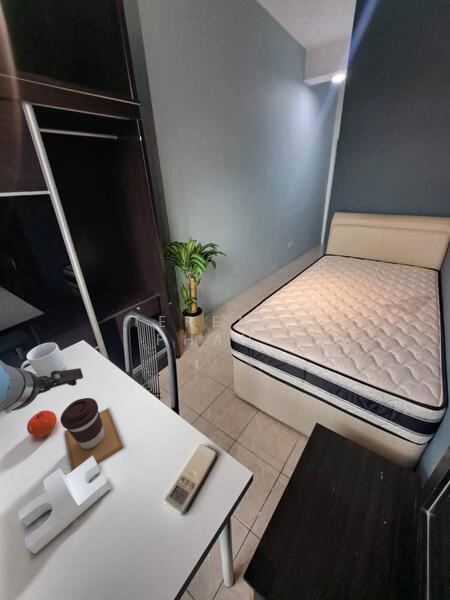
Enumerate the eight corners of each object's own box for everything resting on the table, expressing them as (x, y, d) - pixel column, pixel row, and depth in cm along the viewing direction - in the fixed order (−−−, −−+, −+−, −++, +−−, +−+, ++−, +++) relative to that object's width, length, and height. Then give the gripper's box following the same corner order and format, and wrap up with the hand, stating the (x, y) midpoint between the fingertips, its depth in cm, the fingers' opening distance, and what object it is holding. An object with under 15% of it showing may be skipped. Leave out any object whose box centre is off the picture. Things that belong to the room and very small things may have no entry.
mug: (27, 391, 100) (12, 367, 94) (30, 375, 108) (16, 352, 102) (69, 376, 107) (57, 352, 100) (68, 361, 115) (57, 339, 109)
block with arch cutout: (96, 462, 74) (84, 441, 68) (110, 488, 68) (99, 467, 62) (24, 517, 63) (3, 497, 57) (34, 554, 57) (11, 536, 51)
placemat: (65, 431, 83) (64, 431, 83) (108, 409, 91) (107, 408, 90) (74, 478, 70) (73, 477, 70) (123, 447, 78) (122, 446, 77)
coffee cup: (71, 439, 80) (54, 408, 73) (102, 419, 86) (88, 388, 79) (81, 461, 74) (63, 429, 67) (114, 437, 80) (100, 406, 73)
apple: (45, 444, 80) (35, 428, 76) (27, 438, 82) (16, 423, 78) (65, 422, 87) (57, 406, 83) (47, 417, 89) (38, 402, 85)
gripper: (-82, 447, 39) (-15, 432, 58) (89, 379, 50) (99, 384, 69) (-90, 402, 41) (-22, 401, 59) (78, 345, 52) (91, 359, 70)
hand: (44, 392), depth 64 cm, fingers open, 13 cm apart
